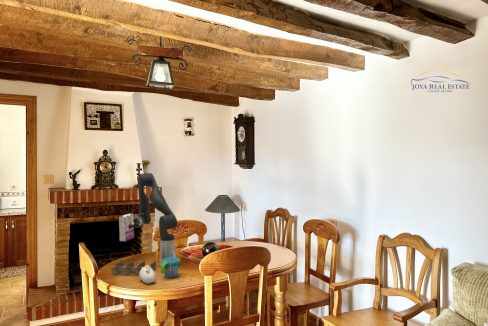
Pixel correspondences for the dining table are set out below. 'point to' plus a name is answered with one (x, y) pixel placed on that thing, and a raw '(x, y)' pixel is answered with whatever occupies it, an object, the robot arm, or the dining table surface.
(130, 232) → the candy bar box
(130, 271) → the walnut rack
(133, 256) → the dining table surface
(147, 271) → the white spotted figurine
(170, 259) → the snack cup
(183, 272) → the dining table surface
